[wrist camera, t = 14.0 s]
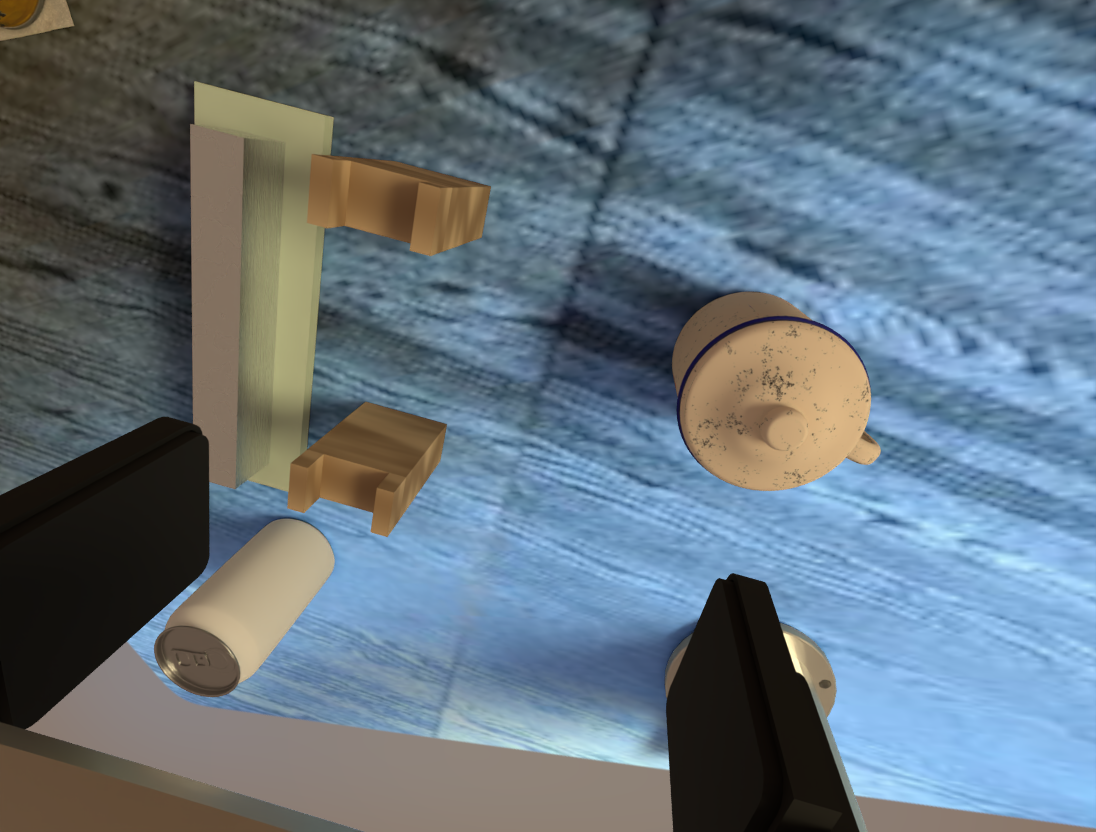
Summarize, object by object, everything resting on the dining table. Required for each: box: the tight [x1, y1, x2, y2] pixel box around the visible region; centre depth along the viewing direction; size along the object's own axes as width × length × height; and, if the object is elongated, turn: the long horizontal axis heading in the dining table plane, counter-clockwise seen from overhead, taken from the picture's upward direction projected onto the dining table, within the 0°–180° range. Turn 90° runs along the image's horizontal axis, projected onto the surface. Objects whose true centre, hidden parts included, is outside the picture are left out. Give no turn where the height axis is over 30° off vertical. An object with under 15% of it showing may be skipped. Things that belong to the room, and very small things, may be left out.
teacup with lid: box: [672, 292, 881, 491], centre depth 31 cm, size 12×9×12 cm
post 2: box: [287, 402, 447, 537], centre depth 37 cm, size 3×6×10 cm, turn 76°
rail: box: [190, 124, 286, 489], centre depth 37 cm, size 22×3×4 cm, turn 166°
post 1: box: [307, 154, 491, 256], centre depth 31 cm, size 3×6×10 cm, turn 76°
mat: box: [194, 81, 334, 492], centre depth 39 cm, size 26×8×1 cm, turn 166°
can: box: [154, 519, 335, 697], centre depth 41 cm, size 6×6×12 cm
